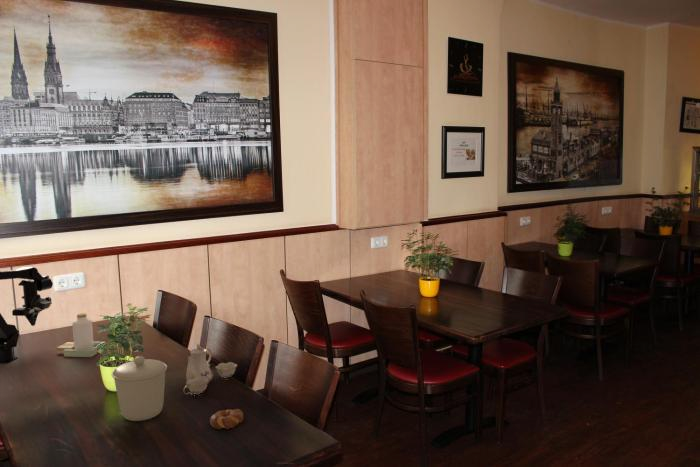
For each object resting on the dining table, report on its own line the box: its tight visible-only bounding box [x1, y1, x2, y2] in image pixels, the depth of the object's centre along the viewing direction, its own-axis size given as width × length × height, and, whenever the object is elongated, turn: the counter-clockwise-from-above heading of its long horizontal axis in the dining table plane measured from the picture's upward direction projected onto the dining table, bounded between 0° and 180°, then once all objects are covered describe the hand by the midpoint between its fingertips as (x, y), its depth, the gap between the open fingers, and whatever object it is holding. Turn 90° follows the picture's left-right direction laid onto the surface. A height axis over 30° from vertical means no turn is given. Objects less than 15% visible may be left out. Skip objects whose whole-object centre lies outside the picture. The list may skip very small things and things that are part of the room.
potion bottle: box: [71, 313, 95, 350], centre depth 265 cm, size 8×8×18 cm
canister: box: [111, 355, 168, 422], centre depth 197 cm, size 18×18×21 cm
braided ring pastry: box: [209, 408, 244, 430], centre depth 191 cm, size 12×11×4 cm
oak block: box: [56, 341, 74, 355], centre depth 267 cm, size 8×7×4 cm
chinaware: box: [183, 343, 238, 396], centre depth 224 cm, size 28×17×17 cm, turn 160°
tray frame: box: [63, 341, 106, 358], centre depth 266 cm, size 13×13×3 cm
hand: (33, 325), depth 269 cm, fingers closed
